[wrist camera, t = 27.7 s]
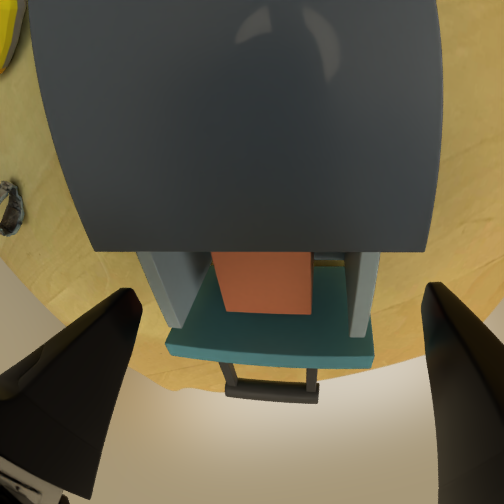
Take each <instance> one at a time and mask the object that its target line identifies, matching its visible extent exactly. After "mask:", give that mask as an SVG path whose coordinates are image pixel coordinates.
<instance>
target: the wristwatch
mask: <svg viewBox="0 0 504 504" xmlns="http://www.w3.org/2000/svg"><path fill="white" fill-rule="evenodd" d="M17 189H18V187H17V186H15V185H13V184H12V183H10V182H7V181H2V182H1V184H0V204H1V202H2V201H3V200H4V199H5V198H6V197H7V196H8V193H9V202H8V205H7V207H6V210H5V213H4V215H3V218H2V221H1V223H0V234H1V235H3V236H7V237H8V236H9V237H10V236H11V235H15V234H16V233H17V232H18V230H19V229H20V227H21V225H22V221H23V218H24V210H23V202H22V197H21V196H19V195H18V190H17Z"/></svg>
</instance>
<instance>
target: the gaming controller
mask: <svg viewBox="0 0 504 504" xmlns="http://www.w3.org/2000/svg"><path fill="white" fill-rule="evenodd" d="M26 6H27V1H26V0H0V74H1V73H2V72H3V71H4V70H5V69H6V68H7V66H8V64H9V62H10V60H11V58H12V56H13V54H14V51H15V48H16V45H17V43H18V39H19V34H20V29H21V25H22V21H23V17H24V14H25V10H26Z"/></svg>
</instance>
